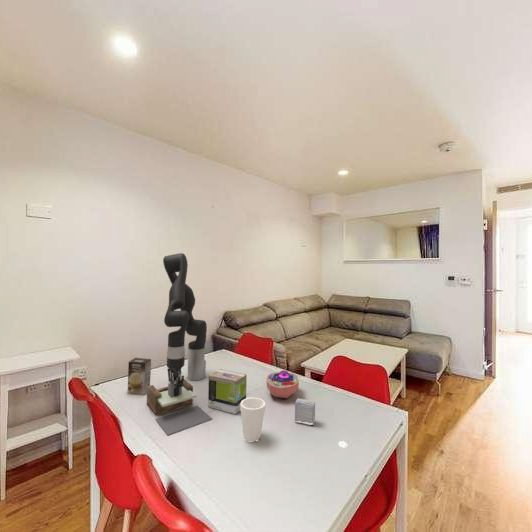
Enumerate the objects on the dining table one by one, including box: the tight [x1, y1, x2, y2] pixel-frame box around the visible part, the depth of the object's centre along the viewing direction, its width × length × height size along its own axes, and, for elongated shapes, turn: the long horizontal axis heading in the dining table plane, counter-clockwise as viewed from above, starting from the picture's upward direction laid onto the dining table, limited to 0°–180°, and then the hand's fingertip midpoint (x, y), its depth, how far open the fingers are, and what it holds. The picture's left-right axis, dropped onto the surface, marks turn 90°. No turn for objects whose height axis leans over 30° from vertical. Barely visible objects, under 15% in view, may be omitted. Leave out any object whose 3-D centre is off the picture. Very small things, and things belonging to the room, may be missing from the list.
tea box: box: [207, 369, 247, 415], centre depth 130 cm, size 15×10×15 cm, turn 65°
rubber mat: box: [154, 405, 213, 437], centre depth 118 cm, size 19×14×1 cm
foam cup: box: [240, 397, 266, 442], centre depth 107 cm, size 10×9×13 cm
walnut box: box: [146, 378, 194, 417], centre depth 130 cm, size 17×12×8 cm
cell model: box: [265, 369, 300, 399], centre depth 143 cm, size 17×20×11 cm
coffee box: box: [127, 357, 152, 396], centre depth 143 cm, size 9×6×16 cm
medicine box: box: [294, 398, 316, 424], centre depth 119 cm, size 8×4×9 cm, turn 71°
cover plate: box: [158, 382, 197, 407], centre depth 125 cm, size 15×12×6 cm
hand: (174, 394), depth 125 cm, fingers closed on cover plate, 3 cm apart
